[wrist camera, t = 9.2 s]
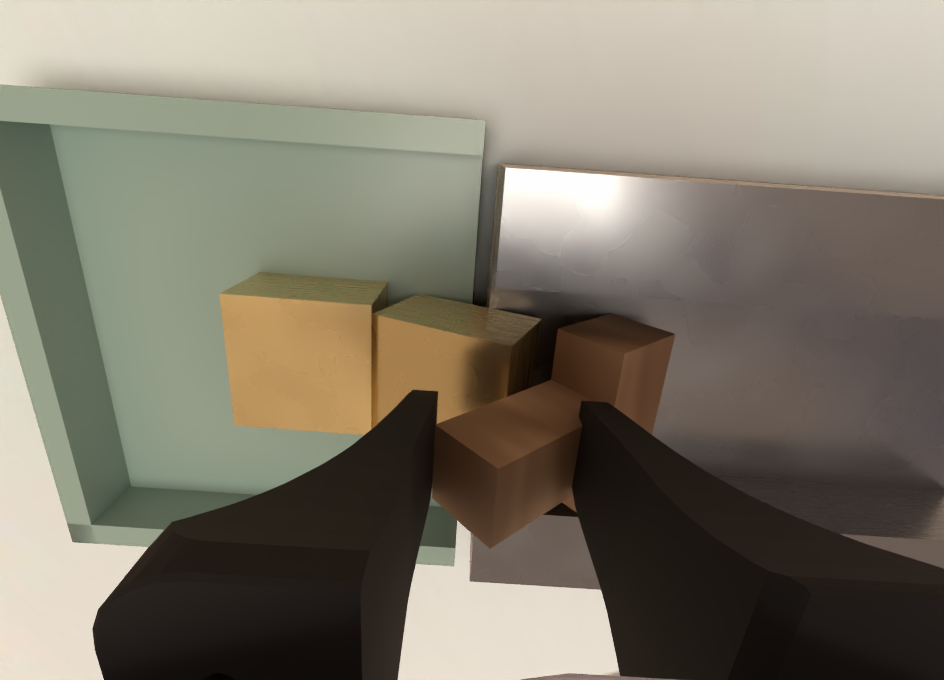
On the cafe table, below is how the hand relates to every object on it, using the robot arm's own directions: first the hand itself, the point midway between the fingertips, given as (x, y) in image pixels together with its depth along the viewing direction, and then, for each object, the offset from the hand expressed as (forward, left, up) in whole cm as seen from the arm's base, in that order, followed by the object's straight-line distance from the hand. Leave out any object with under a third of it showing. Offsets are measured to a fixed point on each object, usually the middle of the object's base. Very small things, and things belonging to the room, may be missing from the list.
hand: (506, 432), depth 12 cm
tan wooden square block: (+6, 0, -5) cm, 7 cm away
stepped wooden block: (-4, 0, -3) cm, 5 cm away
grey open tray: (-8, 0, -6) cm, 9 cm away
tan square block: (+1, 0, -4) cm, 4 cm away
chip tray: (+7, 0, -6) cm, 9 cm away
